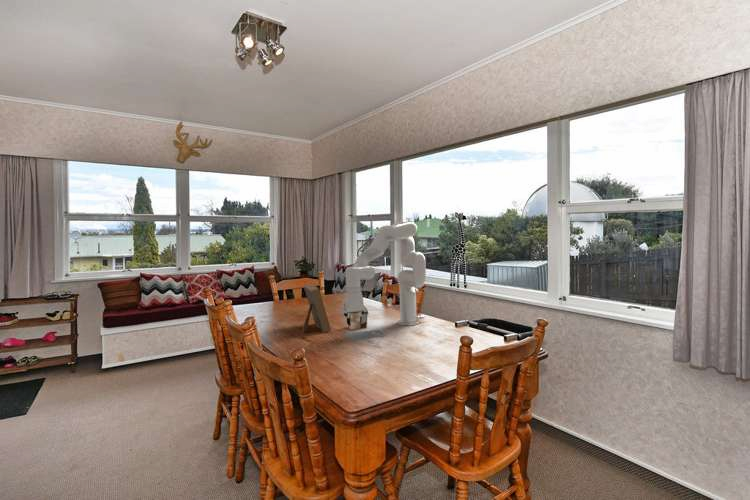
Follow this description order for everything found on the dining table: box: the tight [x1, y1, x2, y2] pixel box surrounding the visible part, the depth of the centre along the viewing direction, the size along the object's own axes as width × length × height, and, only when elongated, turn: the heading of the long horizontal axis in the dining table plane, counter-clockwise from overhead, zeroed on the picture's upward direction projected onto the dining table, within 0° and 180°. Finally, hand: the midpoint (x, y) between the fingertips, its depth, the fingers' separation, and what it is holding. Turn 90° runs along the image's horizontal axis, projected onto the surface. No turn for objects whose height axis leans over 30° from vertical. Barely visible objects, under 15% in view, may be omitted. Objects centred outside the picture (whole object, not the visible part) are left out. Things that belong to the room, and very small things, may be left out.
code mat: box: [344, 329, 388, 342], centre depth 204 cm, size 20×14×1 cm
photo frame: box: [302, 282, 332, 334], centre depth 220 cm, size 15×22×25 cm
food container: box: [359, 309, 370, 329], centre depth 222 cm, size 12×6×10 cm, turn 84°
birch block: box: [347, 312, 361, 330], centre depth 202 cm, size 5×5×8 cm
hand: (354, 324), depth 202 cm, fingers closed on birch block, 5 cm apart
